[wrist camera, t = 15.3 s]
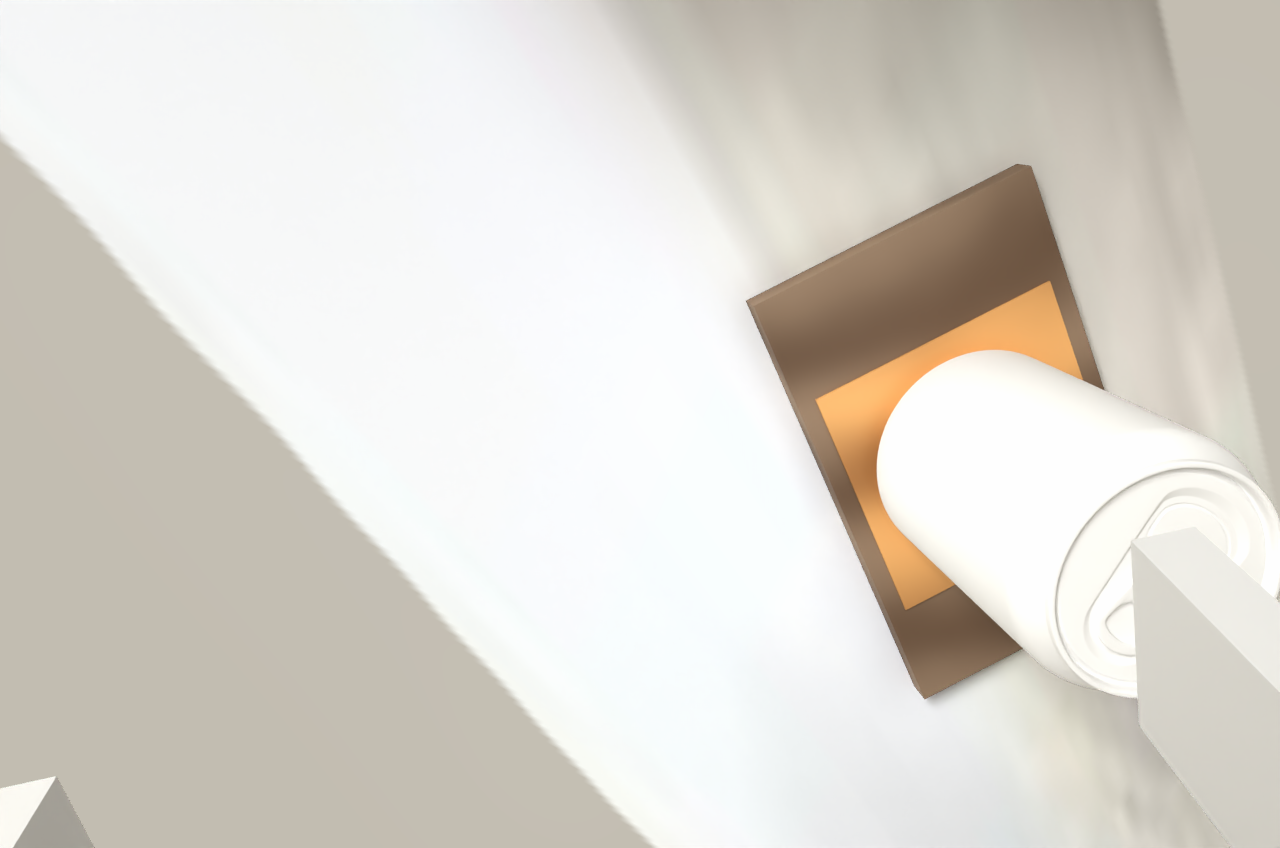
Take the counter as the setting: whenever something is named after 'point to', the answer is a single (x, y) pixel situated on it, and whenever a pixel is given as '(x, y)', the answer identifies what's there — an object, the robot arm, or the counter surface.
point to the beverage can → (1059, 503)
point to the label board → (903, 353)
